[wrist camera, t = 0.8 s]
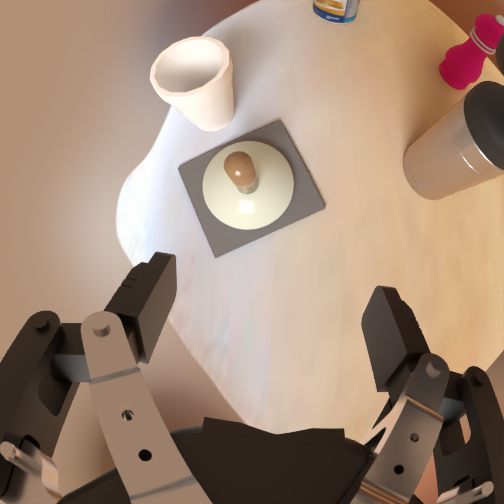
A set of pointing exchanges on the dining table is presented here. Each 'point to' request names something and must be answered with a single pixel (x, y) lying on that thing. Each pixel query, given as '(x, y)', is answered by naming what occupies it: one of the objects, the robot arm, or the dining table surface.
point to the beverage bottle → (336, 10)
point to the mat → (232, 238)
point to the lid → (248, 185)
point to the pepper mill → (472, 52)
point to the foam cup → (197, 81)
